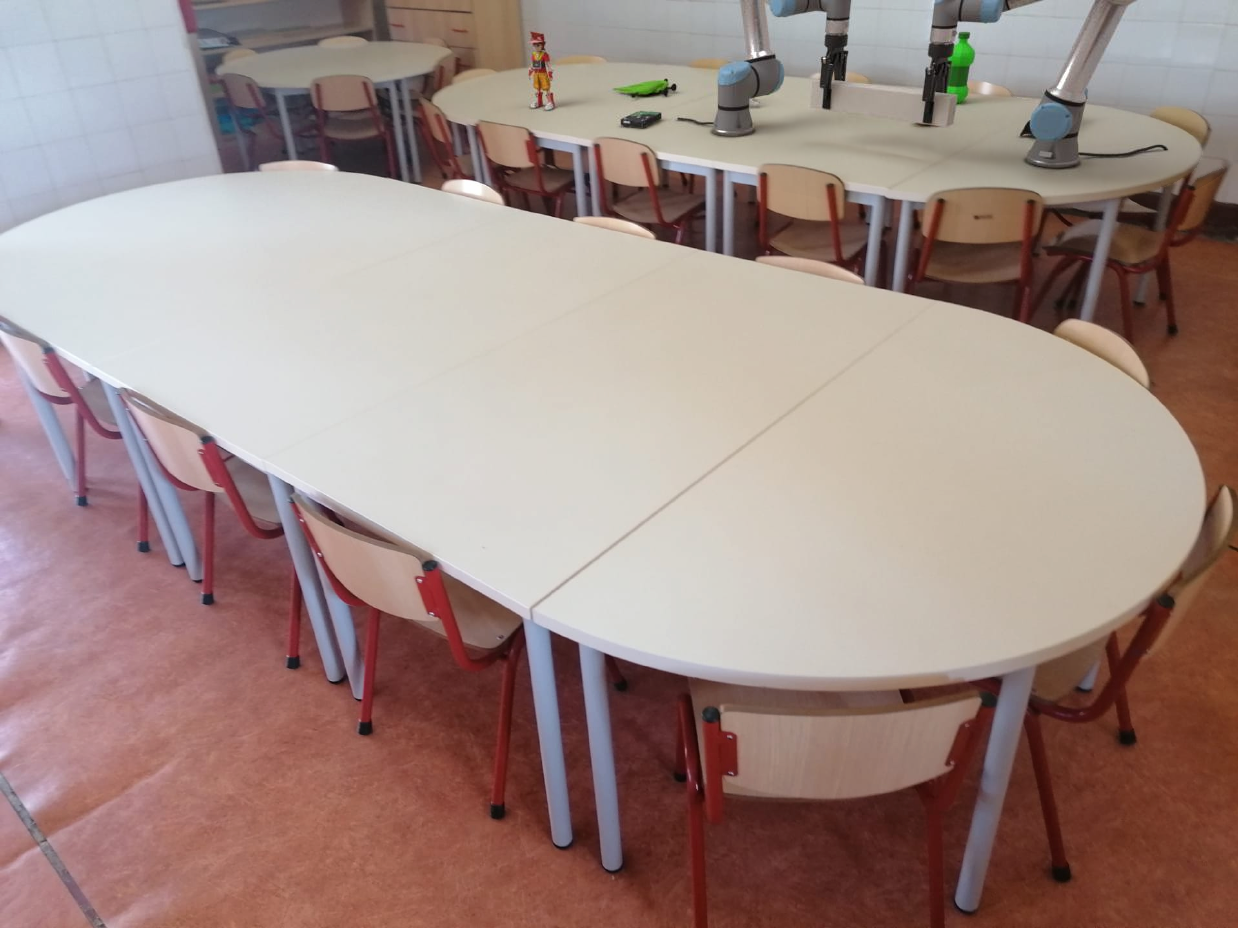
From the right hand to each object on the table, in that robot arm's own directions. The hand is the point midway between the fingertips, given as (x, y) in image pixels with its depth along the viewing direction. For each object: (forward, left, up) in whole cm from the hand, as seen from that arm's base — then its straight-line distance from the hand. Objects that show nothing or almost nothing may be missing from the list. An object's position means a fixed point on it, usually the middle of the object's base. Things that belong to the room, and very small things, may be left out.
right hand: (931, 120), depth 289 cm
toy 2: (+52, -142, -13) cm, 151 cm away
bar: (+9, -16, -1) cm, 19 cm away
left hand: (+19, -32, 0) cm, 37 cm away
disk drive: (+69, -91, -12) cm, 115 cm away
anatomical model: (+22, -99, -12) cm, 102 cm away
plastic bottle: (-52, -60, -13) cm, 80 cm away
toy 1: (+98, -137, -12) cm, 169 cm away
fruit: (-24, -38, -13) cm, 46 cm away
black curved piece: (-58, -12, -12) cm, 61 cm away
